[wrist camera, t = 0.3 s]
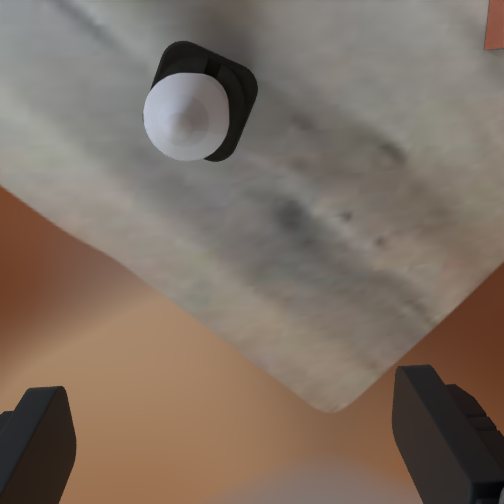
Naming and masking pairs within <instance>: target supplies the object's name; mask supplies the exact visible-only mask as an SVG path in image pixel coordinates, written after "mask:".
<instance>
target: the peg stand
mask: <svg viewBox="0 0 504 504" xmlns="http://www.w3.org/2000/svg"><path fill="white" fill-rule="evenodd" d="M498 49H504V0H490V3H489V11H488V20H487V29H486V38H485V47H484V50H498Z"/></svg>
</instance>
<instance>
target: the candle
mask: <svg viewBox="0 0 504 504" xmlns="http://www.w3.org/2000/svg"><path fill="white" fill-rule="evenodd" d="M257 93H258V86H257V81H256V79H255V77H254V75H253V74H252V72H251V71H250V70H249V69H247V68H246V67H244V66H242V65H240V64H238V63H236V62H233V61H231V60H229V59H227V58H225V57H222V56H220V55H218V54H216V53H214V52H212V51H209V50H207V49H205V48H203V47H201V46H199V45H196V44H194V43H192V42H188V41H178V42H175V43H173V44H171V45H170V46H168V47H167V49H166V50H165V51H164V53H163V55H162V57H161V60H160V63H159V66H158V69H157V72H156V75H155V78H154V81H153V84H152V87H151V89H150V92H149V95H148V97H147V99H146V101H145V106H144V111H143V123H144V126H145V128H146V131H147V134H148V136H149V138H150V139H151V141H152V143H153V144H154V145H155V146H156V147H157V148H158V149H159V150H160V151H161V152H162V153H164V154H165V155H167V156H169V157H171V158H173V159H177V160H181V161H195V160H199V159H205V160H208V161H212V162H219V161H222V160H225V159H227V158H228V157H229V156H230V155H231V154H232V153H233V152H234V150H235V148H236V146H237V144H238V141H239V139H240V136H241V134H242V132H243V129H244V127H245V124H246V122H247V119H248V117H249V114H250V112H251V110H252V107H253V105H254V102H255V100H256V97H257Z"/></svg>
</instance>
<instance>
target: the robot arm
mask: <svg viewBox="0 0 504 504" xmlns="http://www.w3.org/2000/svg"><path fill="white" fill-rule="evenodd" d="M392 428H393V434H394V438H395V442H396V444H397V447H398V449H399V451H400V453H401V456H402V458H403V460H404V462H405V464H406V466H407V469H408V471H409V473H410V475H411V477H412V479H413V482H414V484H415V486H416V488H417V491H418V493H419V495H420V497H421V499H422V502H423V504H504V436H503V435H502V434H501V432H500V431H499V430H498V431H497V429H496V426H495V424H494V423H493V422H492V421H491V419H490V418H489V417H487V416H486V413H485V411H484V410H483V409H482V407H481V406H480V405H479V403H478V402H477V401H476V400H475V398H474V397H473V396H471V395H470V394H468V393H467V392H466V391H464V390H462V389H461V388H460V387H458V386H457V385H455V384H449V385H445V384H444V383H443V381H442V380H441V378H440V377H439V376H438V374H437V373H436V371H435V370H434V368H433V367H432V366H431V365H429V364H428V365H411V366H398V368H397V369H396V373H395V386H394V398H393V409H392ZM75 456H76V436H75V430H74V426H73V421H72V416H71V411H70V407H69V402H68V397H67V393H66V390H65V389H64V387H63V386H54V387H39V388H38V387H37V388H29V389H28V390H27V391H26V392H25V394H24V395H23V397H22V398H21V400H20V402H19V403H18V405H17V406H16V408H15V410H14V411H4V412H3V413H2V414H1V415H0V504H59V501H60V499H61V496H62V494H63V491H64V489H65V486H66V483H67V480H68V478H69V476H70V473H71V470H72V468H73V465H74V461H75Z"/></svg>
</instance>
